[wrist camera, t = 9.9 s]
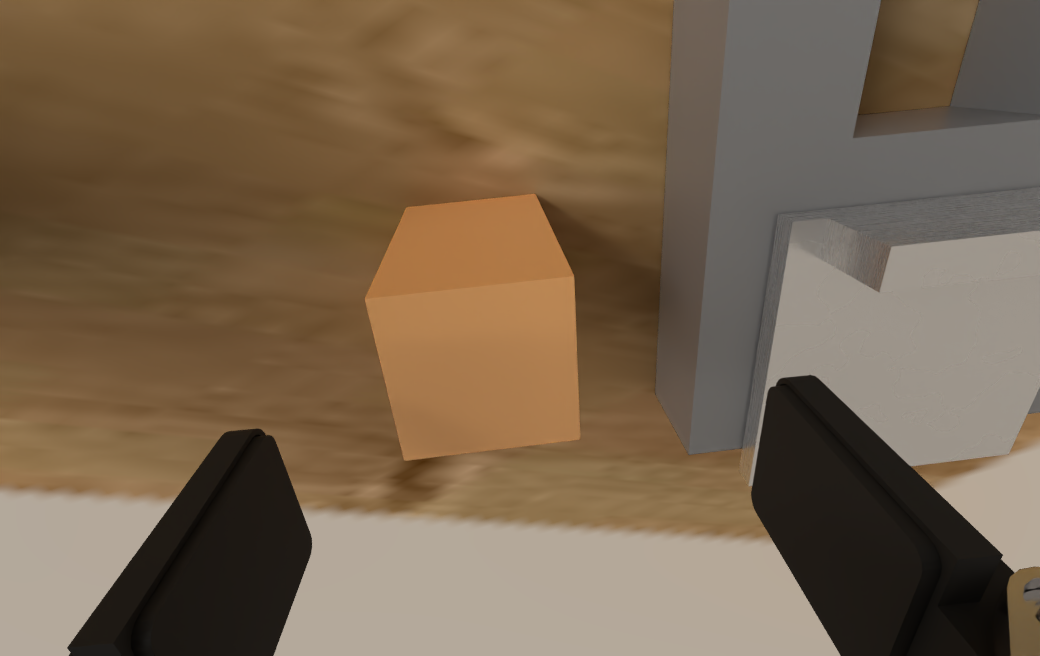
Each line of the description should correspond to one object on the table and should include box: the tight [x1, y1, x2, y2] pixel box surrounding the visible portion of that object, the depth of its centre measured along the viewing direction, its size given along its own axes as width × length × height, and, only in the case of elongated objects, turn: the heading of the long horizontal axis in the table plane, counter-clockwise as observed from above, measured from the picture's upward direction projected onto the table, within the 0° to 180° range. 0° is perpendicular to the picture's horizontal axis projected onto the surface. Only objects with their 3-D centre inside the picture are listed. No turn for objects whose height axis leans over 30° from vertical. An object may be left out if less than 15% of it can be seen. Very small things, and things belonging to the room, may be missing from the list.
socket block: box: [655, 0, 1040, 455], centre depth 17 cm, size 14×20×4 cm
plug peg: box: [365, 194, 580, 461], centre depth 16 cm, size 5×5×8 cm
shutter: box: [739, 187, 1040, 486], centre depth 16 cm, size 10×10×3 cm
